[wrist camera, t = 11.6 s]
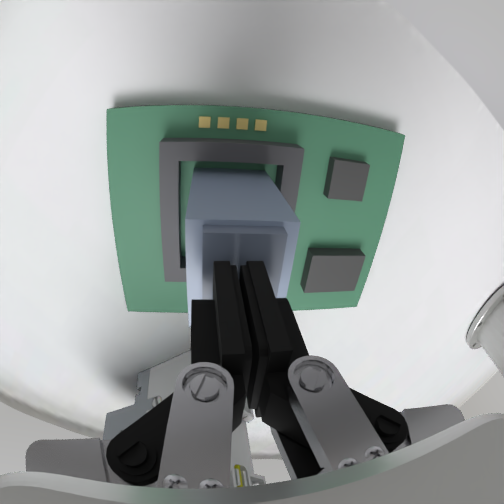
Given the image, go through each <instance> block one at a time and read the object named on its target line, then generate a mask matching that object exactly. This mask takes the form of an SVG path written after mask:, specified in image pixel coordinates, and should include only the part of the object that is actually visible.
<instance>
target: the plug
mask: <svg viewBox="0 0 504 504" xmlns="http://www.w3.org/2000/svg"><path fill="white" fill-rule="evenodd" d="M300 223H301V222H300V220H299V219H298V217H297V216H296V214H295V213H294V211H293V210H292V208H291V207H290V205H289V204H288V202H287V201H286V200H285V198H284V197H283V195H282V194H281V192H280V191H279V189H278V188H277V186H276V185H275V184H274V182H273V181H272V179H271V178H270V176H269V175H268V174H267V172H266V171H265V170H249V169H226V168H194V170H193V176H192V181H191V187H190V193H189V199H188V204H187V211H186V217H185V246H186V279H187V301H188V319H189V327H191V301H192V299H213V262H214V261H230V265H236V267H237V272H238V277H239V275H240V266H241V265H246V262H247V261H263V262H264V264H265V267H266V270H267V273H268V276H269V279H270V282H271V285H272V288H273V291H274V294H275V297H276V298H286V296H287V291H288V286H289V281H290V276H291V271H292V266H293V261H294V256H295V250H296V245H297V240H298V234H299V229H300Z"/></svg>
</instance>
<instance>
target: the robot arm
mask: <svg viewBox="0 0 504 504" xmlns="http://www.w3.org/2000/svg"><path fill="white" fill-rule="evenodd" d="M466 341H467V344H468V345H469V347H470V348H471V349H478V348H480V347H483V349H484V350H485V351H486V353H487V354H488V355H489V357H490V358H491V360H492V361H493V362H494V364H495V365H496V367H497V368H498V369H499V371H500V372H501V374H502V375H503V377H504V286H502V287H501V288H500V289H499V290H498V291H497V292H496V293H495V294H494V295H493V296H492V297H491V298H490V299H489V300H488V301H487V303H486V304H485V305H484V306H483V308H482V309H481V310H480V312H479V313H478V315H477V316H476V318H475V319H474V321H473V323H472V325H471V327H470V329H469V331H468V334H467V338H466ZM246 397H247V403H248V408H249V409H255V414H256V417H262V422H264V423H266V424H267V425H269V426H270V428H271V432H272V435H273V437H274V440H275V442H276V444H277V447H278V449H279V452H280V454H281V456H282V459H283V461H284V463H285V466H286V468H287V470H288V473H289V475H290V477H291V480H289V481H283V482H277V483H270V484H263V485H254V486H244V487H232V488H230V466H231V442H232V432H233V431H234V430H235V429H236V428H237V427H238V426H239V425H240V424H241V423H242V416H243V410H244V408H245V402H246ZM0 504H504V414H501V413H491V414H483V415H479V416H475V417H472V418H470V419H467V420H465V419H464V416H463V414H462V412H461V411H460V410H459V409H458V408H457V407H455V406H453V405H448V404H445V405H438V406H431V407H422V408H412V409H404V410H403V411H402V412H398V411H396V410H395V409H393V408H391V407H389V406H386V405H384V404H382V403H380V402H378V401H376V400H374V399H371V398H369V397H367V396H365V395H363V394H361V393H359V392H357V391H355V390H353V389H351V388H349V387H348V385H347V384H346V382H345V380H344V379H343V377H342V376H341V374H340V372H339V371H338V369H337V368H336V367H335V366H334V364H333V363H331V362H330V361H328V360H327V359H324V358H322V357H319V356H312V355H311V356H309V354H308V351H307V349H306V346H305V343H304V340H303V338H302V335H301V332H300V330H299V327H298V324H297V322H296V319H295V316H294V314H293V311H292V308H291V306H290V303H289V301H288V299H287V298H276V297H275V294H274V291H273V288H272V285H271V282H270V279H269V276H268V273H267V270H266V267H265V264H264V262H263V261H247V262H246V265H241V266H240V275H239V277H238V272H237V267H236V265H230V261H214V262H213V299H192V301H191V365H189V366H187V367H186V368H184V369H183V370H182V371H181V372H180V373H179V375H178V377H177V380H176V383H175V388H174V392H173V393H172V394H171V395H169V396H168V397H167V398H165V399H164V400H163V401H162V402H160V403H159V404H158V405H156V406H155V407H154V408H152V409H151V410H150V411H148V412H147V413H146V414H145V415H143V416H142V417H141V418H139V419H138V420H137V421H135V422H134V423H132V424H131V425H130V426H128V427H127V428H126V429H124V430H123V431H122V432H120V433H119V434H117V435H116V436H115V437H114V438H113V439H111V440H100V438H91V439H68V440H38V441H35V442H33V443H32V444H31V445H30V446H29V448H28V449H27V452H26V472H14V473H7V474H4V475H0Z"/></svg>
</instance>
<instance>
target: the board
mask: <svg viewBox="0 0 504 504" xmlns="http://www.w3.org/2000/svg"><path fill="white" fill-rule="evenodd" d="M404 139H405V135H403V134H400V133H397V132H393V131H390V130H386V129H382V128H378V127H373V126H369V125H364V124H360V123H355V122H350V121H345V120H340V119H335V118H329V117H323V116H317V115H311V114H304V113H297V112H289V111H281V110H272V109H262V108H251V107H237V106H218V105H151V106H132V107H119V108H111V109H107V159H108V177H109V190H110V201H111V211H112V220H113V228H114V236H115V243H116V250H117V256H118V262H119V268H120V274H121V279H122V285H123V290H124V295H125V300H126V304H127V309H128V311H135V312H174V313H188V301H187V279H186V246H185V217H186V211H187V204H188V199H189V193H190V187H191V181H192V176H193V170H194V168H226V169H249V170H265V171H266V172H267V174H268V175H269V176H270V178H271V179H272V181H273V182H274V184H275V185H276V186H277V188H278V189H279V191H280V192H281V194H282V195H283V197H284V198H285V200H286V201H287V202H288V204H289V205H290V207H291V208H292V210H293V211H294V213H295V214H296V216H297V217H298V219H299V220H300V222H301V223H300V229H299V234H298V240H297V245H296V250H295V256H294V261H293V266H292V271H291V276H290V281H289V286H288V291H287V296H286V298H287V299H288V301H289V303H290V306H291V308H292V311H296V310H315V309H331V308H345V307H357V304H358V301H359V299H360V296H361V293H362V291H363V288H364V285H365V282H366V279H367V277H368V274H369V271H370V268H371V265H372V262H373V259H374V256H375V253H376V249H377V246H378V243H379V240H380V236H381V233H382V230H383V226H384V223H385V219H386V216H387V212H388V208H389V205H390V201H391V197H392V193H393V189H394V185H395V181H396V177H397V172H398V168H399V163H400V159H401V154H402V149H403V144H404Z"/></svg>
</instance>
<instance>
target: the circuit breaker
mask: <svg viewBox="0 0 504 504" xmlns="http://www.w3.org/2000/svg"><path fill="white" fill-rule="evenodd" d="M189 365H191V350H189V351H187V352H185V353H183V354H181V355H179V356H176V357H174V358H172V359H170V360H168V361H165V362H163V363H161V364H159V365H156V366H154V367H152V368H150V369H147V370H145V371H143V372H140V373H139V375H138V382H137V389H138V390H139V391H140V393H139V395H136V398H135V404H134V405H131V406H128V407H125V408H122V409H119V410H116V411H113V412H109V413H107V415H106V421H105V428H104V435H103V440H111V439H113V438H114V437H115V436H116V435H117V434H119V433H120V432H122V431H123V430H124V429H126V428H127V427H128V426H130V425H131V424H132V423H134V422H135V421H137V420H138V419H139V418H141V417H142V416H143V415H145V414H146V413H147V412H148V411H150V410H151V409H152V408H154V407H155V406H156V405H158V404H159V403H160V402H162V401H163V400H164V399H165V398H167V397H168V396H169V395H171V394H172V393H173V392H174V388H175V383H176V380H177V377H178V375H179V373H180V372H181V371H182V370H183V369H184V368H186V367H187V366H189ZM253 419H254V416H253V410H252V409H249V408H248V403H247V397H246V402H245V408H244V410H243V416H242V423H241V424H240V425H239V426H238V427H237V428H236V429H235V430H234V431H233V432H232V442H231V466H230V488H232V487H244V486H252V485H257V484H259V485H263V484H266V482H265V477H264V476H261V475H257V474H254V470H253V464H252V458H251V452H250V446H249V439H248V433H247V427H246V422H248V423H249V422H250V421H252V420H253Z"/></svg>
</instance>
